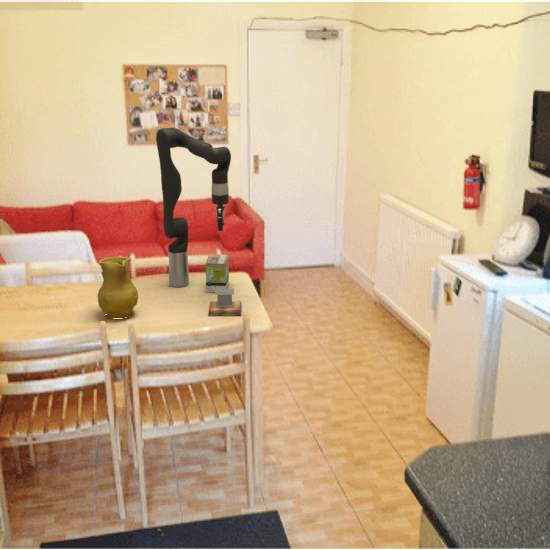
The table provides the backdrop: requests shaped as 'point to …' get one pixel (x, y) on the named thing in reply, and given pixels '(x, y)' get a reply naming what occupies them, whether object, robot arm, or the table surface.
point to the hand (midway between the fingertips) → (220, 228)
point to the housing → (224, 298)
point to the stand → (225, 310)
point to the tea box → (217, 272)
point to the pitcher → (117, 288)
